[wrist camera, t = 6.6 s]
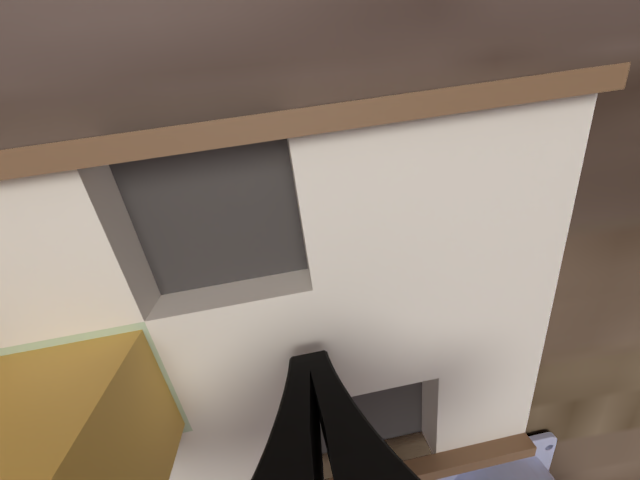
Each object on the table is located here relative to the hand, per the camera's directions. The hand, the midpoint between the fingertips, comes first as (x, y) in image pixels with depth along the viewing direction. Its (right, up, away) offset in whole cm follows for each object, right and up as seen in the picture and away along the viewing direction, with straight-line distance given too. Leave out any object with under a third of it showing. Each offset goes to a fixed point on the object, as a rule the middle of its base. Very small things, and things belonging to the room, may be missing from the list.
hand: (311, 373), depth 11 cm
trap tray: (-1, +1, +3) cm, 3 cm away
